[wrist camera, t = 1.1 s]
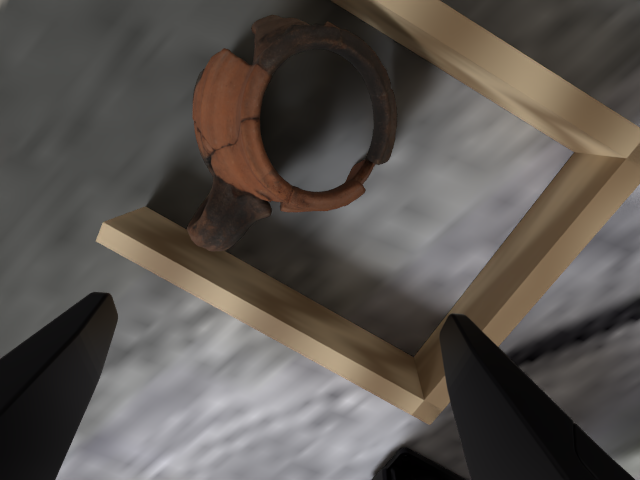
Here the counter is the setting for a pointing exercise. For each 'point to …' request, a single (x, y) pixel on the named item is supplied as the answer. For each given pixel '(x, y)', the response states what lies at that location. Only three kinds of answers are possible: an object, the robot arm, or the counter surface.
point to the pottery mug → (245, 136)
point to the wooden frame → (499, 273)
